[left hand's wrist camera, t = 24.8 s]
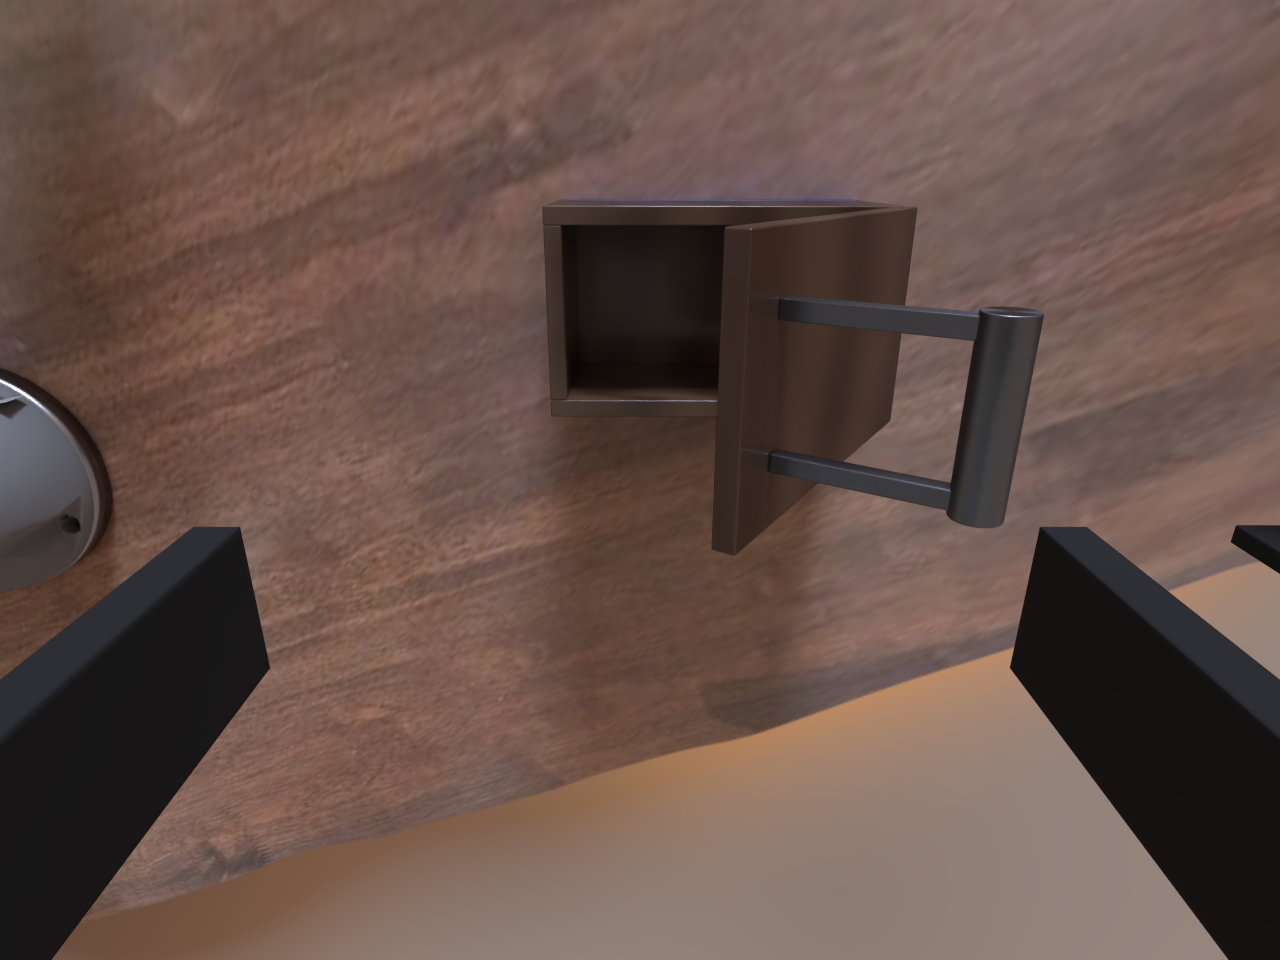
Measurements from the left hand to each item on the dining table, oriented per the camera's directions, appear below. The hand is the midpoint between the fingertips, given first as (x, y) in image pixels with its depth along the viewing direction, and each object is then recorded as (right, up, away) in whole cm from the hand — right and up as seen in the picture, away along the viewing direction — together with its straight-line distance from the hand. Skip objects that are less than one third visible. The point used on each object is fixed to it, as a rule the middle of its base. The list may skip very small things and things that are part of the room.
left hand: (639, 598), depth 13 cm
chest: (+4, +14, +34) cm, 37 cm away
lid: (+7, +7, +18) cm, 21 cm away
